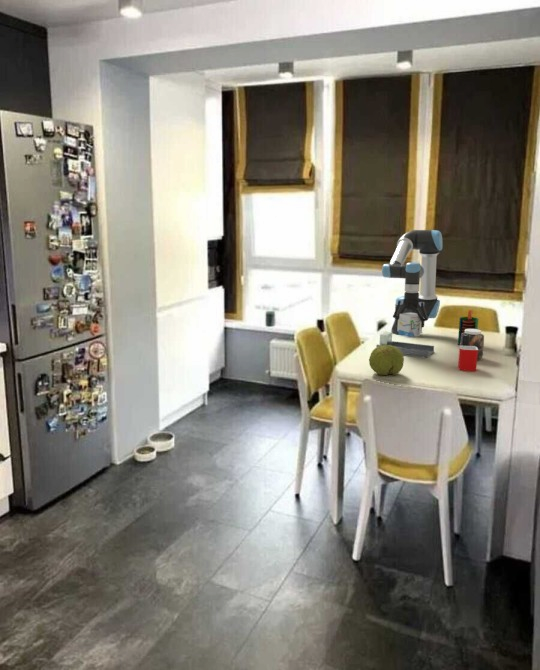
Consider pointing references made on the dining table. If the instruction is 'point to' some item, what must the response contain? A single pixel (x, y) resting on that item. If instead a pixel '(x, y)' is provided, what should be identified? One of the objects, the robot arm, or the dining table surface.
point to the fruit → (386, 360)
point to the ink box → (409, 324)
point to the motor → (467, 324)
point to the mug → (467, 358)
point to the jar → (473, 341)
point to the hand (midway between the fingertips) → (409, 332)
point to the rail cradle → (406, 346)
